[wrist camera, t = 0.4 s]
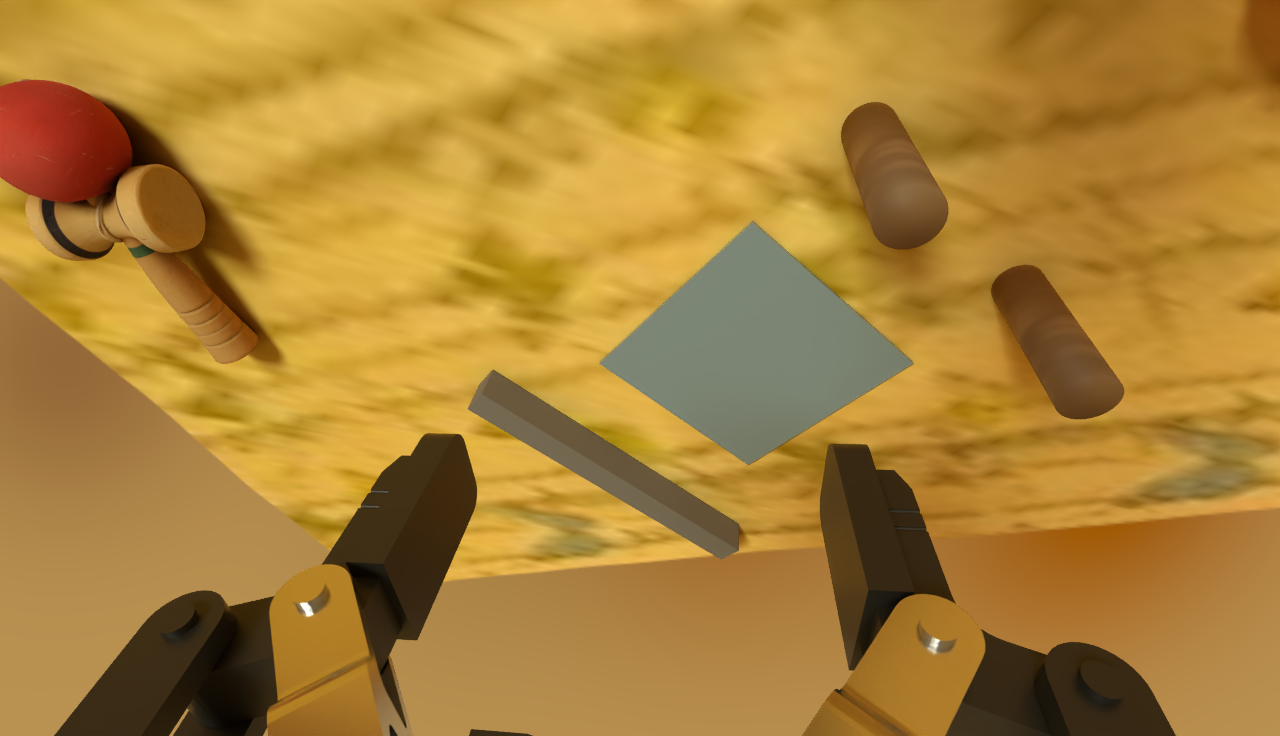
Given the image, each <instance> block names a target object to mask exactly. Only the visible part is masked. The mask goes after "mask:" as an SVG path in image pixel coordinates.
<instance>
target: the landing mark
mask: <svg viewBox="0 0 1280 736" xmlns="http://www.w3.org/2000/svg"><path fill="white" fill-rule="evenodd" d="M600 364H601V365H602V366H604V367H605V368H607V369H608V370H610V371H611V372H613V373H614V374H616V375H617V376H618V377H620V378H621V379H623V380H624V381H626V382H627V383H629V384H630V385H632V386H633V387H635V388H636V389H638V390H639V391H641V392H642V393H643V394H645V395H646V396H648V397H649V398H651V399H652V400H654V401H655V402H657V403H658V404H660V405H661V406H663V407H664V408H665V409H667V410H668V411H670V412H671V413H673V414H674V415H676V416H677V417H679V418H680V419H682V420H683V421H685V422H686V423H688V424H689V425H690V426H692V427H693V428H695V429H696V430H698V431H699V432H701V433H702V434H704V435H705V436H707V437H708V438H710V439H711V440H712V441H714V442H715V443H717V444H718V445H720V446H721V447H723V448H724V449H726V450H727V451H729V452H730V453H732V454H733V455H735V456H736V457H737V458H739V459H740V460H742V461H743V462H745V463H746V464H748V465H749V464H751V463H752V462H754V461H756V460H757V459H759V458H761V457H762V456H764V455H765V454H767V453H769V452H770V451H772V450H774V449H775V448H777V447H778V446H780V445H782V444H783V443H785V442H787V441H788V440H790V439H791V438H793V437H795V436H796V435H798V434H800V433H801V432H803V431H804V430H806V429H808V428H809V427H811V426H813V425H814V424H816V423H817V422H819V421H821V420H822V419H824V418H826V417H827V416H829V415H830V414H832V413H834V412H835V411H837V410H839V409H840V408H842V407H844V406H845V405H847V404H848V403H850V402H852V401H853V400H855V399H857V398H858V397H860V396H861V395H863V394H865V393H866V392H868V391H870V390H871V389H873V388H874V387H876V386H878V385H879V384H881V383H883V382H884V381H886V380H887V379H889V378H891V377H892V376H894V375H896V374H897V373H899V372H900V371H902V370H904V369H905V368H907V367H909V366H910V365H912V364H913V361H912V360H911V359H909V358H908V357H907V356H906V355H905V354H904V353H903V352H901V351H900V350H899V349H898V348H897V347H896V346H895V345H894V344H892V343H891V342H890V341H889V340H888V339H887V338H886V337H884V336H883V335H882V334H881V333H880V332H879V331H878V330H876V329H875V328H874V327H873V326H872V325H871V324H870V323H868V322H867V321H866V320H865V319H864V318H863V317H862V316H860V315H859V314H858V313H857V312H856V311H855V310H854V309H852V308H851V307H850V306H849V305H848V304H847V303H846V302H845V301H843V300H842V299H841V298H840V297H839V296H838V295H837V294H835V293H834V292H833V291H832V290H831V289H830V288H829V287H827V286H826V285H825V284H824V283H823V282H822V281H821V280H819V279H818V278H817V277H816V276H815V275H814V274H813V273H811V272H810V271H809V270H808V269H807V268H806V267H805V266H804V265H802V264H801V263H800V262H799V261H798V260H797V259H796V258H794V257H793V256H792V255H791V254H790V253H789V252H788V251H786V250H785V249H784V248H783V247H782V246H781V245H780V244H778V243H777V242H776V241H775V240H774V239H773V238H772V237H770V236H769V235H768V234H767V233H766V232H765V231H764V230H762V229H761V228H760V227H759V226H758V225H757V224H756V223H755V222H753V221H752V222H751V223H750V224H749V225H748V226H747V227H746V228H745V229H744V230H743V231H742V232H740V233H739V234H738V235H737V236H736V237H735V238H734V239H733V240H732V241H731V242H730V243H729V244H727V245H726V246H725V247H724V248H723V249H722V250H721V251H720V252H719V253H718V254H717V255H716V256H714V257H713V258H712V259H711V260H710V261H709V262H708V263H707V264H706V265H705V266H704V267H703V268H701V269H700V270H699V271H698V272H697V273H696V274H695V275H694V276H693V277H692V278H691V279H690V280H688V281H687V282H686V283H685V284H684V285H683V286H682V287H681V288H680V289H679V290H678V291H677V292H675V293H674V294H673V295H672V296H671V297H670V298H669V299H668V300H667V301H666V302H665V303H663V304H662V305H661V306H660V307H659V308H658V309H657V310H656V311H655V312H654V313H653V314H652V315H650V316H649V317H648V318H647V319H646V320H645V321H644V322H643V323H642V324H641V325H640V326H639V327H637V328H636V329H635V330H634V331H633V332H632V333H631V334H630V335H629V336H628V337H627V338H626V339H624V340H623V341H622V342H621V343H620V344H619V345H618V346H617V347H616V348H615V349H614V350H613V351H611V352H610V353H609V354H608V355H607V356H606V357H605V358H604V359H603V360H602V361H601V362H600Z"/></svg>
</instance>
